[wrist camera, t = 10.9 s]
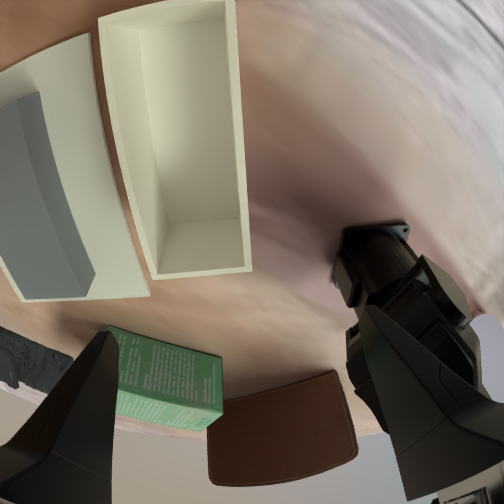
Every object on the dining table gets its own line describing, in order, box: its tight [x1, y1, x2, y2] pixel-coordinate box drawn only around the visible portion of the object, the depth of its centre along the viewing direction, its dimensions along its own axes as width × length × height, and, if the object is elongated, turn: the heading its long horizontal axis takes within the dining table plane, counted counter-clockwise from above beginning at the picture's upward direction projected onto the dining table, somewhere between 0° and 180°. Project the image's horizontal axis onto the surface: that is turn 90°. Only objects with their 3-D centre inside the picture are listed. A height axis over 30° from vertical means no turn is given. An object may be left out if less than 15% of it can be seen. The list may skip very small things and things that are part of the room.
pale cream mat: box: [0, 33, 150, 302], centre depth 19 cm, size 16×22×1 cm
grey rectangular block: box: [0, 91, 96, 300], centre depth 18 cm, size 7×16×3 cm, turn 3°
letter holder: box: [207, 370, 358, 487], centre depth 36 cm, size 10×20×14 cm, turn 112°
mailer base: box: [98, 0, 252, 280], centre depth 15 cm, size 6×15×6 cm, turn 3°
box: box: [107, 325, 223, 432], centre depth 29 cm, size 7×14×8 cm, turn 63°
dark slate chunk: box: [0, 326, 74, 394], centre depth 31 cm, size 15×22×5 cm
